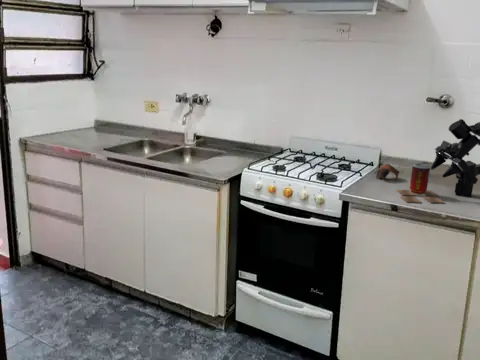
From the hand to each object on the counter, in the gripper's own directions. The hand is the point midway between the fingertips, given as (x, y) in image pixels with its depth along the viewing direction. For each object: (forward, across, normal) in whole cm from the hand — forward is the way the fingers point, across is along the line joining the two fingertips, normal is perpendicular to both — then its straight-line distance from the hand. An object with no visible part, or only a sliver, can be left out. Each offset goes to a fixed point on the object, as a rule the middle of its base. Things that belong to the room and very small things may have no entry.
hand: (437, 172), depth 216 cm
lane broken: (+13, +10, -3) cm, 17 cm away
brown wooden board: (+12, +1, 0) cm, 12 cm away
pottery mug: (+16, -22, 0) cm, 28 cm away
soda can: (+12, +1, 0) cm, 12 cm away
